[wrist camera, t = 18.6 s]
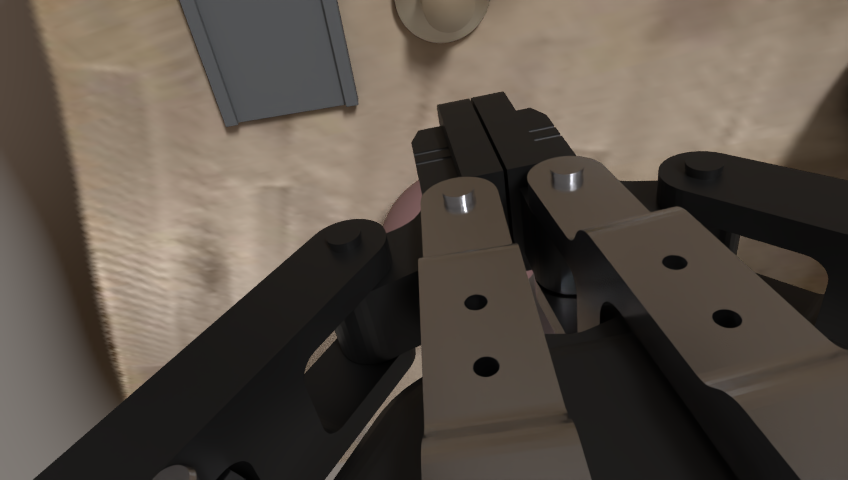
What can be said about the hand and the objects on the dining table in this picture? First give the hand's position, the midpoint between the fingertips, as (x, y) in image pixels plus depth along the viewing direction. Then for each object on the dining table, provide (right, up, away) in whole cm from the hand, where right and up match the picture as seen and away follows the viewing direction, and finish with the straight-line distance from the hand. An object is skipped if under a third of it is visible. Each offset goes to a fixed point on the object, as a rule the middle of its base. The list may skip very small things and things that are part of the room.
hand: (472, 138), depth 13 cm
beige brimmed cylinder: (0, +13, +23) cm, 26 cm away
